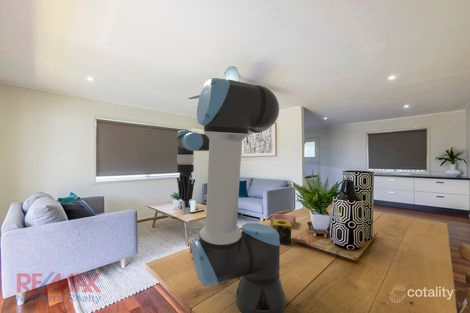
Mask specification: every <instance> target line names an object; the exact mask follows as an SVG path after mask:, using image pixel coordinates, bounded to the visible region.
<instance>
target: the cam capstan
mask: <svg viewBox="0 0 470 313" xmlns="http://www.w3.org/2000/svg"><path fill="white" fill-rule="evenodd" d="M193 241H194V240H190V241H189V253H190V254H192V243H193Z"/></svg>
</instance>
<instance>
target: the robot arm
mask: <svg viewBox="0 0 470 313" xmlns="http://www.w3.org/2000/svg"><path fill="white" fill-rule="evenodd" d="M198 97H199V98H198V101H197V108H196V116H197V117H196V120H197V123H198V124H199V125H201V126H202V127H203V133H198V132H196V131H191V130H186V129H184V130H178V131H177V136H176V140H177V143H176V144H177V147H176V148H177V153H176V154H177V156H176V157H177V158H176V162H177V166H176V167H177V168H176V169H177V173H179V177H176V182H177V189H178V197H179V199H180V200H181V215H183V216H185V215H189V214H190V200H192V199H193V196H194V194H193V193H194V187H195V184H196V183H195V182H196V179H195V178H193V175H192V173H193V172H194V171H195V165H194V159H195V155H194V154H195V153H194V152H208V160H207V161H208V162H207V163H208V164H207V165H208V166H207V184H206V185H207V186H206V187H207V188H206V206H205V209H206V210H205V212H206V213H205V225H204V226H203V227H202V228H201V229H200V230H199V238H198V239H195V240H192V241H193V243H192V253H191V254H192V261H193V265H194V269H195V272H196V276H197V277H198V280H199V282H200V283H201V284H202V285H203V286H205V287H209V286H213V285H219V284H221V283H224V282H227V281H231V280H235V279H237V278H240V279H239V282H238V286H237V290H236V294H235V300H236V302H235V303H236V306H237V308H238V310H239V311H240V312H241V313H284V312H285V309H286V295H285V294H286V293H285V292H284V288H283V284H282V282H281V277H280V268H281V267H280V255H281V254H280V253H281V252H280V251H281V250H280V248H281V247H280V246H281V244H280V241H279V233H278V232H277V230H276V229H274V228H272V226H270V225H266V224H261V223H257V222H256V223H255V222H254V223H253V222H251V223H250V222H249V223H244V224H243V225H242V226H241V228H239V226H238V214H239V213H238V211H239V210H238V209H239V196H240V195H239V194H240V193H239V192H240V180H241V177H240V176H241V163H242V162H241V161H242V147H243V141H244V140H245V139H246V138H247V137H249V136H251V135H252V134H260V133H263V132H265V131H266V130H268V129H270V128H271V127H272V126H273V125H274V124H275V123H276V122H277V120H278V117H279V114H280V104H279V101H278V99H277V96H276V95H275V93H274V92H273V91H272V90H271V89H269V88H268V87H266V86H264V85H258V84H252V83H247V82H244V81H243V82H242V81H239V80H238V81H237V80H234V79H233V80H232V79H229V78H219V77H212V78H210V79H207V81H206V82H205V83H204V85H203V87H202V88H201V91H200V94H199V96H198ZM237 226H238V227H237Z"/></svg>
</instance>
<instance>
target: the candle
mask: <svg viewBox="0 0 470 313" xmlns="http://www.w3.org/2000/svg"><path fill="white" fill-rule="evenodd" d="M271 227H272V228H274V229H276V230H277V232H278V233H279V241H280V245H289V246H290V245H292V229H291V223H290V220H281V219H273V225H272V226H271Z"/></svg>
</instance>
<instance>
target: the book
mask: <svg viewBox="0 0 470 313" xmlns="http://www.w3.org/2000/svg"><path fill="white" fill-rule="evenodd" d="M273 219H281V220H290V223H291V230H293V229H294V227H295V225H294V224H296V215H290V214H281V213H274V214H273V215H272V216H271V217H270V218H269V221H270V224H269V226H270V227H272V225H273ZM293 226H294V227H293ZM292 228H293V229H292Z"/></svg>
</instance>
